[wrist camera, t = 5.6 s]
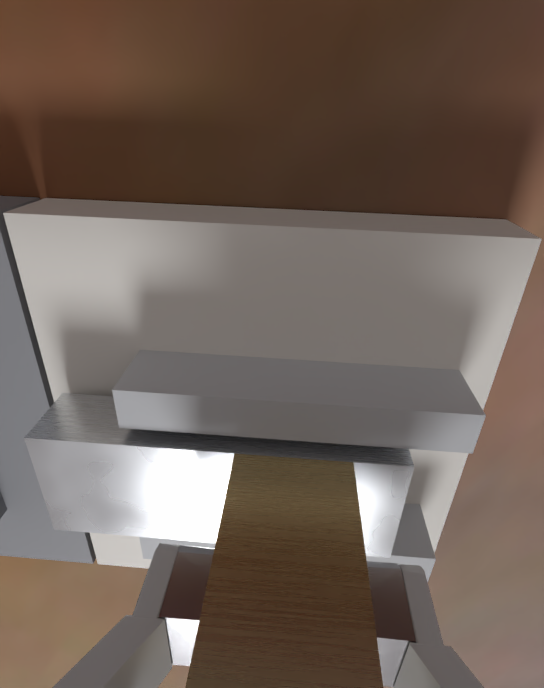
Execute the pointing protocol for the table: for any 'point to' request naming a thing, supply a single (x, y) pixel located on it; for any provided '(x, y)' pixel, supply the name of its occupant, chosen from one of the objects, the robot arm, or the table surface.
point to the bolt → (241, 534)
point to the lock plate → (252, 340)
